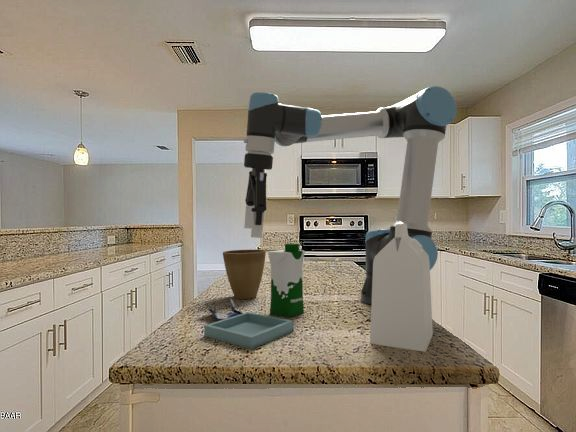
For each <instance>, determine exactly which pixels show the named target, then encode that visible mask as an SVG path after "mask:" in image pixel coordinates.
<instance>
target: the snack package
mask: <svg viewBox="0 0 576 432" xmlns="http://www.w3.org/2000/svg"><path fill="white" fill-rule="evenodd" d="M227 300H228V303H230V306H231V307H230V308H231V311H229V312H220V311H218V310H217V309H216V308H214V309H213V308H212V307H211V306H210V305H208V303H207V302H205V305H206V307H207V309H208V311H209V312H210V313H211V315H212V316H213V317H214V318H215V319H216V320H217V321H220V320H224V319H227V318H230V317H233V316H237V315H240V314H243V312H241V311H240V310H237V305H236V304H235V303H234V300H233V299H232V298H231V296H230V297H228V298H227ZM213 306H215V304H214V303H213ZM220 314H222V315H224V316H225V318H224V317H220Z"/></svg>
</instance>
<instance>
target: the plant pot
mask: <svg viewBox="0 0 576 432" xmlns="http://www.w3.org/2000/svg"><path fill="white" fill-rule="evenodd" d="M266 254H267V250H265V249H235V250H234V249H233V250H226V251H222V257H223V262H224V268H225V272H226V277H227V279H228V282H229V287H230V288H231V291H232V293H233V294H232V295H233V296H234V298H235V299H238V300H249V299H250V300H251V299H255V298H256V297H257V295H258V292H259V289H260V287H261V286H260V285H261V282H262V278H263V274H264V269H265V263H266V256H267V255H266Z"/></svg>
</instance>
